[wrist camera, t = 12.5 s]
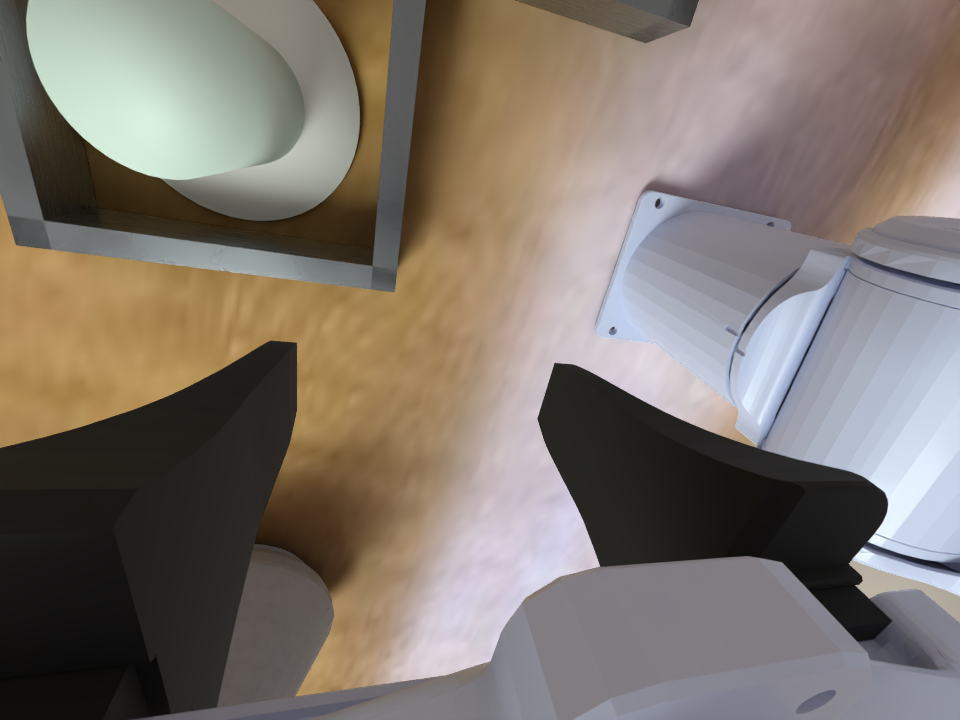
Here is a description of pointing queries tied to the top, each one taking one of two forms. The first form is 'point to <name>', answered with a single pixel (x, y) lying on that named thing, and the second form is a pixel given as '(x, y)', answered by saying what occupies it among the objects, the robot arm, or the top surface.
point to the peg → (166, 84)
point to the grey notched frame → (90, 230)
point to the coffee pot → (275, 628)
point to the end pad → (327, 119)
